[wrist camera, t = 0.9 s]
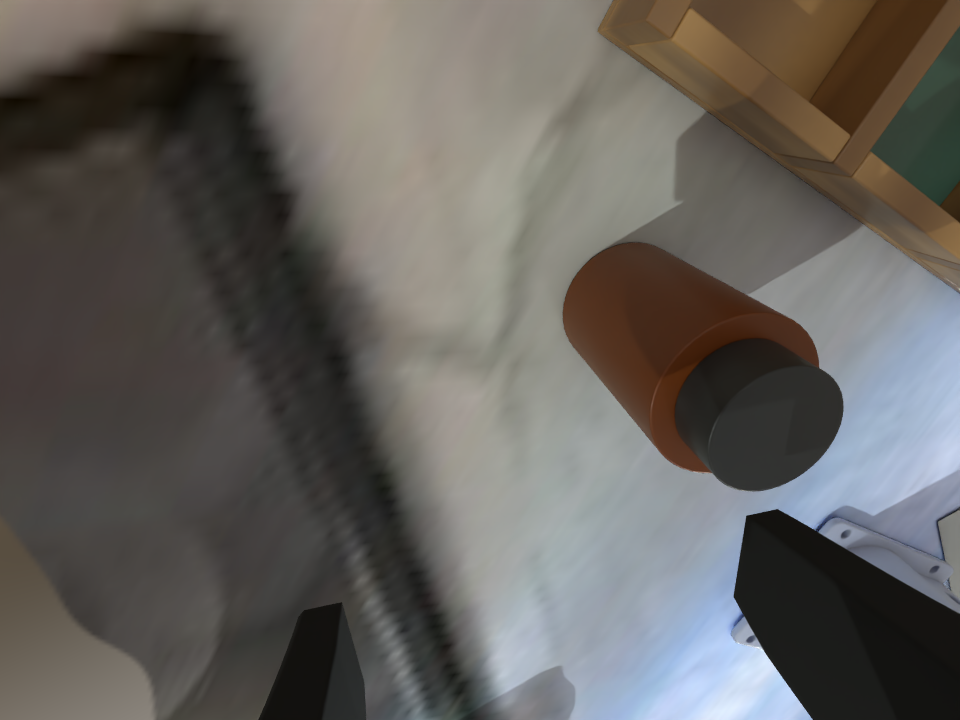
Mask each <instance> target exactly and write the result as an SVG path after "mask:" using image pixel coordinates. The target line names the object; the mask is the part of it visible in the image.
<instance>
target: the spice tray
mask: <svg viewBox="0 0 960 720" xmlns="http://www.w3.org/2000/svg"><path fill="white" fill-rule="evenodd" d="M598 32H599V33H600V34H601V35H603V36H604V37H605V38H607V39H608V40H610V41H611V42H612V43H614V44H615V45H617V46H618V47H619V48H621V49H622V50H623V51H625V52H626V53H628V54H629V55H630V56H632V57H633V58H635V59H636V60H637V61H639V62H640V63H641V64H643V65H644V66H646V67H647V68H648V69H650V70H651V71H653V72H654V73H655V74H657V75H658V76H659V77H661V78H662V79H664V80H665V81H666V82H668V83H669V84H671V85H672V86H673V87H675V88H676V89H677V90H679V91H680V92H682V93H683V94H684V95H686V96H687V97H689V98H690V99H691V100H693V101H694V102H696V103H697V104H698V105H700V106H701V107H702V108H704V109H705V110H707V111H708V112H709V113H711V114H712V115H714V116H715V117H716V118H718V119H719V120H720V121H722V122H723V123H725V124H726V125H727V126H729V127H730V128H732V129H733V130H734V131H736V132H737V133H738V134H740V135H741V136H743V137H744V138H745V139H747V140H748V141H750V142H751V143H752V144H754V145H755V146H756V147H758V148H759V149H761V150H762V151H763V152H765V153H766V154H768V155H769V156H770V157H772V158H773V159H774V160H776V161H777V162H779V163H780V164H781V165H783V166H784V167H786V168H787V169H788V170H790V171H791V172H792V173H794V174H795V175H797V176H798V177H799V178H801V179H802V180H804V181H805V182H806V183H808V184H809V185H810V186H812V187H813V188H815V189H816V190H817V191H819V192H820V193H822V194H823V195H824V196H826V197H827V198H828V199H830V200H831V201H833V202H834V203H835V204H837V205H838V206H840V207H841V208H842V209H844V210H845V211H846V212H848V213H849V214H851V215H852V216H853V217H855V218H856V219H858V220H859V221H860V222H862V223H863V224H864V225H866V226H867V227H869V228H870V229H871V230H873V231H874V232H876V233H877V234H878V235H880V236H881V237H882V238H884V239H885V240H887V241H888V242H889V243H891V244H892V245H894V246H895V247H896V248H898V249H899V250H900V251H902V252H903V253H905V254H906V255H907V256H909V257H910V258H912V259H913V260H914V261H916V262H917V263H918V264H920V265H921V266H923V267H924V268H925V269H927V270H928V271H930V272H931V273H932V274H934V275H935V276H936V277H938V278H939V279H941V280H942V281H943V282H945V283H946V284H948V285H949V286H950V287H952V288H953V289H954V290H956V291H957V292H959V293H960V0H613V2H612V4H611V6H610V8H609V10H608V12H607V14H606V15H605V17H604V19H603V21H602V23H601V25H600V27H599V29H598Z"/></svg>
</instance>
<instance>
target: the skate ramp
mask: <svg viewBox="0 0 960 720" xmlns="http://www.w3.org/2000/svg"><path fill="white" fill-rule="evenodd" d="M938 525H939V530H940V535H941V541H942V546H943V551H944V556H945V561H946V562H947V563H948V564H950V565H951V566H952V567H953V569H954V571H953V574H952V575H951V576H950V577H949V582H950V587H951V592H953V593H954V594H955V595H956V596H957V597H958V598H960V510H958V511H956V512H955V513H953V514H951V515H949V516H947V517H945V518H944V519H942V520H940V521H938Z"/></svg>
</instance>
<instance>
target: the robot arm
mask: <svg viewBox="0 0 960 720" xmlns="http://www.w3.org/2000/svg"><path fill="white" fill-rule="evenodd" d="M953 571H954V569H953V567H952V566H951V565H950V564H948V563H947V562H946V561H943V560H941V559H938V558H936V557H934V556H931V555H929V554H926V553H924V552H921V551H919V550H917V549H914V548H912V547H909V546H907V545H905V544H902V543H900V542H897V541H895V540H892V539H890V538H888V537H885V536H883V535H880V534H878V533H876V532H873V531H871V530H868V529H866V528H863V527H861V526H859V525H856V524H854V523H851V522H849V521H847V520H844V519H842V518H832V519H830V520H829V521H828V522H826V524H825V525H824V526H823V527H822V528H821V529H820V530H819V531H818V532H817V531H815V530H813V529H812V528H810V527H808V526H806V525H805V524H803V523H801V522H799V521H798V520H796V519H794V518H792V517H791V516H789V515H787V514H785V513H783V512H782V511H780V510H778V509H776V510H771V511H767V512H762V513H757V514H753V515H748V516H746V522H745V528H744V534H743V541H742V547H741V553H740V559H739V566H738V572H737V578H736V584H735V591H734V598H735V600H736V602H737V604H738V606H739V607H740V609H741V611H742V613H743V615H744V617H743V618H742V619H741V620H740V621H739V622H738V624H737V625H736V626H735V627H734V628H733V630H732V631H731V636H732V638H733V639H734V641H735V642H736V643H739V644H742V645H746V646H750V647H754V648H758V649H761V650H764V652H765V653H766V655H767V656H768V658H769V659H770V660H771V662H772V663H773V665H774V666H775V668H776V669H777V670H778V672H779V673H780V675H781V676H782V677H783V679H784V680H785V682H786V683H787V684H788V686H789V687H790V689H791V690H792V691H793V693H794V694H795V696H796V697H797V698H798V700H799V701H800V703H801V704H802V705H803V707H804V708H805V709H806V711H807V712H808V714H809V715H810V716H811V718H812V719H813V720H960V598H958V597H957V596H956V595H955V594H954V593H953V592H951V591H950V590H949V589H948V588H947V587H946V586H944V585H943V583H944V582H945V581H946V580H947V579H948V578H949V577H950V576H951V575H952V574H953ZM258 720H366V705H365V687H364V680H363V676H362V673H361V669H360V666H359V662H358V658H357V655H356V651H355V648H354V644H353V640H352V637H351V633H350V630H349V626H348V622H347V619H346V615H345V612H344V608H343V604H342V602H341V603H336V604H332V605H327V606H322V607H318V608H313V609H308V610H304V611H303V612H302V613H301V615H300V616H299V617H298V620H297V623H296V626H295V629H294V632H293V635H292V638H291V640H290V643H289V646H288V649H287V651H286V654H285V657H284V659H283V662H282V664H281V667H280V669H279V672H278V674H277V677H276V679H275V682H274V684H273V687H272V689H271V692H270V694H269V696H268V699H267V701H266V704H265V706H264V708H263V710H262V713H261V715H260V717H259V719H258Z"/></svg>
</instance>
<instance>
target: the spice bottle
mask: <svg viewBox="0 0 960 720" xmlns="http://www.w3.org/2000/svg"><path fill="white" fill-rule="evenodd" d="M563 323H564V328H565V332H566V335H567V337H568V339H569V341H570V343H571V344H572V346H573V347H574V348H575V349H576V351H577V352H578V353H579V354H580V356H581V357H582V358H583V359H584V360H585V362H586V363H587V364H588V365H589V367H590V368H591V369H592V370H593V371H594V373H595V374H596V375H597V376H598V377H599V379H600V380H601V381H602V382H603V384H604V385H605V386H606V387H607V388H608V390H609V391H610V392H611V393H612V394H613V396H614V397H615V398H616V399H617V401H618V402H619V403H620V404H621V405H622V407H623V408H624V409H625V410H626V411H627V413H628V414H629V415H630V416H631V418H632V419H633V420H634V421H635V422H636V424H637V425H638V426H639V427H640V428H641V430H642V431H643V432H644V433H645V435H646V436H647V437H648V438H649V439H650V441H651V442H652V443H653V444H654V446H655V447H656V448H657V449H658V450H659V452H660V453H661V454H662V455H663V456H664V457H665V458H666V459H667V460H669V461H670V462H671V463H673V464H674V465H676V466H678V467H680V468H682V469H685V470H689V471H692V472H698V473H713V474H714V475H715V476H716V477H717V479H718V480H719V481H721V482H722V483H723V484H725V485H727V486H729V487H731V488H734V489H737V490H741V491H763V490H768V489H772V488H775V487H778V486H781V485H783V484H786V483H788V482H790V481H791V480H793V479H795V478H797V477H798V476H800V475H801V474H803V473H804V472H805V471H807V470H808V469H809V468H811V467H812V466H813V465H814V464H815V463H816V462H817V461H818V460H819V459H820V458H821V457H822V456H823V455H824V453H825V452H826V451H827V449H828V448H829V447H830V445H831V443H832V442H833V440H834V438H835V436H836V434H837V432H838V430H839V427H840V424H841V421H842V416H843V398H842V393H841V391H840V388H839V386H838V385H837V383H836V382H835V380H834V379H833V378H832V377H831V376H830V375H829V374H827V373H826V372H825V371H823V370H821V369H820V368H819V359H818V354H817V350H816V348H815V345H814V343H813V341H812V339H811V337H810V336H809V334H808V333H807V332H806V331H805V330H804V328H803V327H802V326H801V325H799V324H798V323H796V322H795V321H794V320H792V319H790V318H788V317H786V316H785V315H783V314H781V313H779V312H777V311H775V310H773V309H772V308H770V307H768V306H766V305H764V304H762V303H760V302H759V301H757V300H755V299H753V298H751V297H749V296H747V295H746V294H744V293H742V292H740V291H738V290H736V289H734V288H733V287H731V286H729V285H727V284H725V283H723V282H721V281H720V280H718V279H716V278H714V277H712V276H710V275H708V274H707V273H705V272H703V271H701V270H699V269H697V268H696V267H694V266H692V265H690V264H688V263H686V262H684V261H683V260H681V259H679V258H677V257H675V256H673V255H671V254H670V253H668V252H666V251H664V250H662V249H660V248H658V247H656V246H653V245H650V244H645V243H625V244H620V245H617V246H614V247H611V248H609V249H606V250H604V251H603V252H601V253H599V254H597V255H596V256H595V257H593V258H592V259H591V260H590V261H588V262H587V263H586V264H585V265H584V266H583V267H582V269H581V270H580V271H579V272H578V273H577V275H576V276H575V278H574V279H573V281H572V283H571V285H570V287H569V289H568V292H567V294H566V297H565V302H564V307H563Z"/></svg>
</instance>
